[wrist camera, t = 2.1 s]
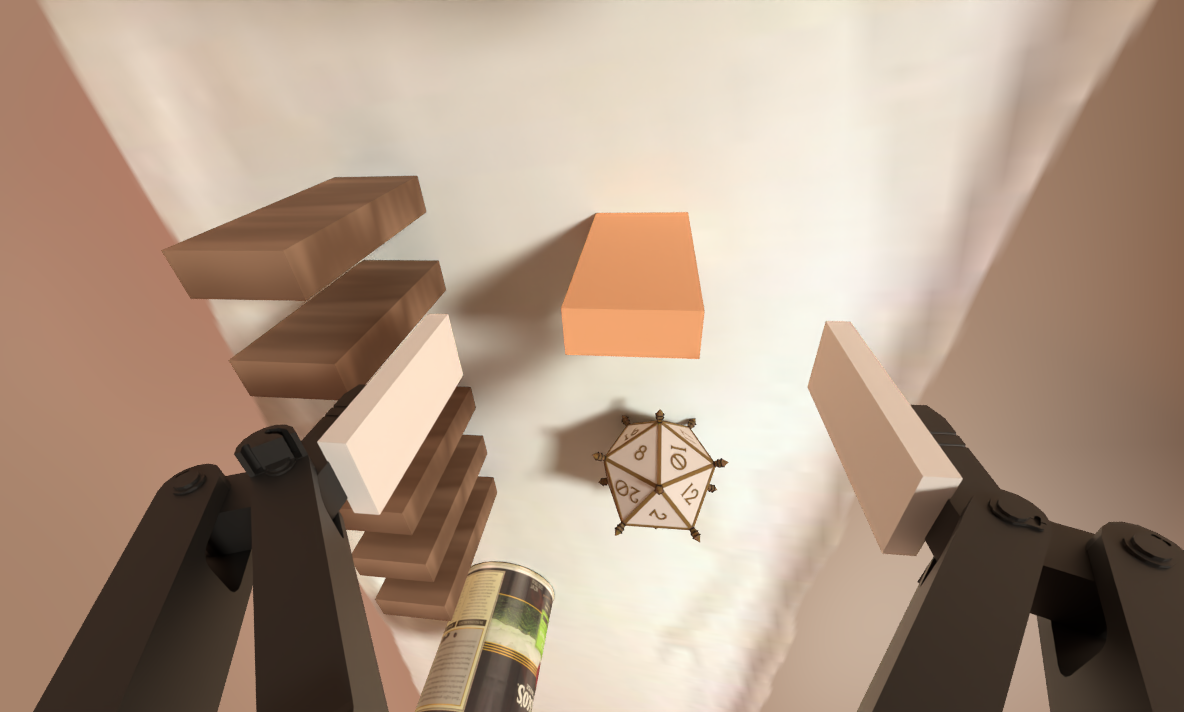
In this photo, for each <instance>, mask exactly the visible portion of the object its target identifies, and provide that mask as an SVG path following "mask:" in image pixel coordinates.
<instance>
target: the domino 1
mask: <svg viewBox="0 0 1184 712" xmlns="http://www.w3.org/2000/svg"><path fill="white" fill-rule="evenodd" d="M424 213H426V208H425V204H424V201H423V197H422V193H421V189H420V185H419V181H418V177H417V176H384V177H334V178H332V179H330V180H327V181H325V182H323V183H320V184H318V185H315V186H313V187H311V188H308V189H306V190H304V191H301V192H299V193H296V194H294V195H292V196H289V197H287V198H285V199H282V200H280V201H277V202H275V203H273V204H270V205H268V206H266V207H263V208H261V209H258V210H256V211H254V212H251V213H249V214H247V215H244V216H242V217H239V218H237V219H235V220H232V221H230V222H228V223H225V224H223V225H221V226H218V227H216V228H213V229H211V230H209V231H206V232H204V233H202V234H199V235H197V236H194V237H192V238H190V239H187V240H185V241H183V242H180V243H178V244H176V245H173V246H171V247H168V248H166V249H164V250H162V253H163V254H164V256H165V257H166V259H167V261H168V262H169V264H170V266H171V267H172V269H173V270H174V272H175V274H176V275H177V277H178V278H179V280H180V282H181V283H182V285H183V287H184V288H185V290H186V292H187V293H188V295H189V296H190V298H191V299H238V300H295V301H306V300H307V299H309V298H310V297H312V296H313V295H314V294H316V293H317V292H318V291H320V290H321V289H322V288H324V287H325V286H326V285H328V284H329V283H331V282H332V281H333V280H335V279H336V278H337V277H339V276H340V275H341V274H343V273H344V272H345V271H347V270H348V269H350V268H351V267H352V266H354V265H355V264H356V263H358V262H359V261H360V260H362V259H363V258H365V257H366V256H367V255H369V254H370V253H371V252H373V251H374V250H375V249H377V248H378V247H379V246H381V245H382V244H384V243H385V242H386V241H388V240H389V239H390V238H392V237H393V236H394V235H396V234H397V233H398V232H400V231H401V230H403V229H404V228H405V227H407V226H408V225H409V224H411V223H412V222H413V221H415V220H416V219H418V218H419V217H420V216H422V215H423V214H424Z"/></svg>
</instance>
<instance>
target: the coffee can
mask: <svg viewBox="0 0 1184 712" xmlns="http://www.w3.org/2000/svg"><path fill="white" fill-rule="evenodd" d="M553 601H554V591H553V589H552V587H551V585H550V584H549V583H548V582H547V581H546V580H545V579H544V578H543V577H542V576H540V575H539V574H537V573H535V572H533V571H532V570H530V569H528V568H525V567H522V566H519V565H516V564H511V563H505V562H486V563H481V564H477V565H474V566H472V567H471V568H470V570H469V573H468V576H467V578H466V581H465V584H464V587H463V590H462V592H461V595H460V598H459V601H458V604H457V606H456V609H455V612H454V615H453V618H452V620H451V621H448V623H447V626H446V629H445V632H444V634H443V637H442V640H441V643H440V645H439V648H438V651H437V653H436V656H435V659H434V661H433V664H432V667H431V669H430V672H429V675H428V678H427V680H426V683H425V686H424V688H423V691H422V694H421V696H420V699H419V702H418V705H417V707H416V710H415V712H531V711H532V706H533V700H534V695H535V690H536V685H537V681H538V675H539V669H540V664H541V659H542V654H543V649H544V644H545V638H546V633H547V628H548V623H549V617H550V613H551V607H552V603H553Z"/></svg>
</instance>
